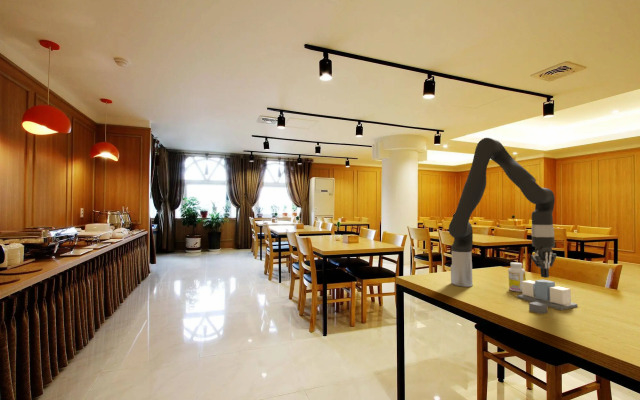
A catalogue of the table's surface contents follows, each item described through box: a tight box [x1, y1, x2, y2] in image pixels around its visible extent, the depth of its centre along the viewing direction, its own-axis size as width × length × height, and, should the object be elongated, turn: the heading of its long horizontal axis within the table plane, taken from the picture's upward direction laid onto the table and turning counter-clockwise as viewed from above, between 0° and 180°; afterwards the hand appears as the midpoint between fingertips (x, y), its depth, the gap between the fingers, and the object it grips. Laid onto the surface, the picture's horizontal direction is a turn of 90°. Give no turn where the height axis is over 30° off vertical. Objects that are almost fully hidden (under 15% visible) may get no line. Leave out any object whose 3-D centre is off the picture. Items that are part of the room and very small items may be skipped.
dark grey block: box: [528, 301, 548, 315], centre depth 109 cm, size 4×4×3 cm
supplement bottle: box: [507, 261, 527, 293], centre depth 136 cm, size 7×7×13 cm
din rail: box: [516, 279, 579, 311], centre depth 119 cm, size 17×10×7 cm, turn 20°
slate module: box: [534, 279, 556, 301], centre depth 119 cm, size 4×5×7 cm
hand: (544, 277), depth 119 cm, fingers closed
